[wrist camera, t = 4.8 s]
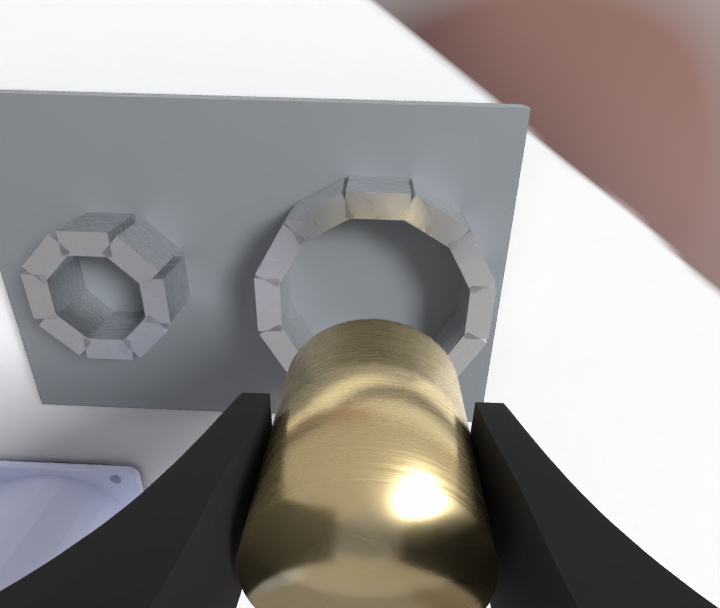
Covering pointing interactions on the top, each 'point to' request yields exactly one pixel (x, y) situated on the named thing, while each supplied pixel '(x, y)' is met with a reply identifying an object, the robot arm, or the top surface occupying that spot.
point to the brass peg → (369, 481)
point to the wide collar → (379, 202)
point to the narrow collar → (87, 312)
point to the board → (246, 224)
